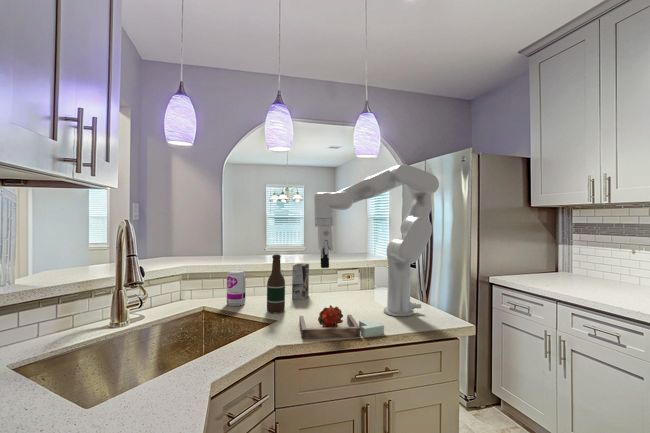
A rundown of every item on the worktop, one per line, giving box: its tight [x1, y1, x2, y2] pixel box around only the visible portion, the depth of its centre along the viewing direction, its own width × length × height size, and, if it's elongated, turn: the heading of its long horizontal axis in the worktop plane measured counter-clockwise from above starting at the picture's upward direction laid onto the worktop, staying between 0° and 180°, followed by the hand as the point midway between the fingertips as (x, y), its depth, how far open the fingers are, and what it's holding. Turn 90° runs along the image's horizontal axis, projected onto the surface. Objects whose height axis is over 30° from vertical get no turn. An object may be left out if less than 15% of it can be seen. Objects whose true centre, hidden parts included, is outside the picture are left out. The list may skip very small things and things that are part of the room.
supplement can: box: [226, 269, 247, 307], centre depth 161 cm, size 8×8×15 cm
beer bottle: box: [266, 254, 286, 314], centre depth 151 cm, size 8×8×24 cm
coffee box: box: [291, 263, 310, 300], centre depth 176 cm, size 9×6×16 cm
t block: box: [358, 319, 385, 338], centre depth 127 cm, size 8×8×3 cm
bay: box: [298, 314, 361, 340], centre depth 128 cm, size 20×16×3 cm
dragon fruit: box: [317, 305, 344, 328], centre depth 131 cm, size 8×8×12 cm
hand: (324, 267), depth 144 cm, fingers closed
